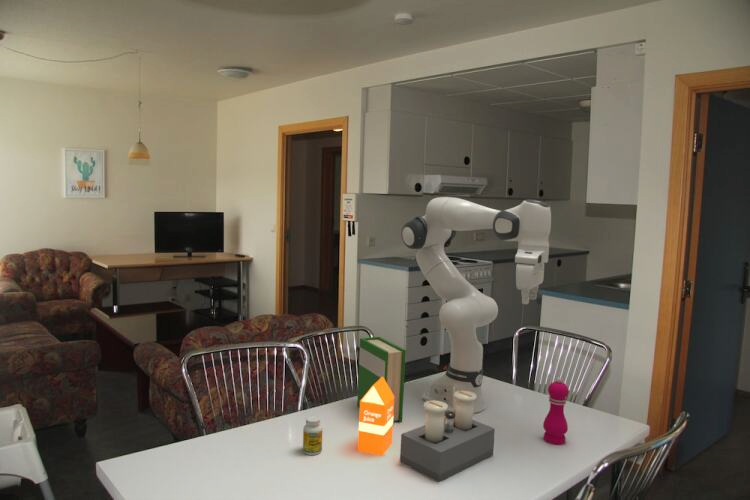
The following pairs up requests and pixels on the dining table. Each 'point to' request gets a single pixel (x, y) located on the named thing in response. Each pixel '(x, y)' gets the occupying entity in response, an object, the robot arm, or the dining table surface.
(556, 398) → the pepper mill
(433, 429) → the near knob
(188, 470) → the dining table surface
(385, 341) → the hardback book
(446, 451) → the mount
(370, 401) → the orange juice
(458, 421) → the cream lidded cup
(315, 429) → the supplement bottle
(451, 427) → the small glass shaker
